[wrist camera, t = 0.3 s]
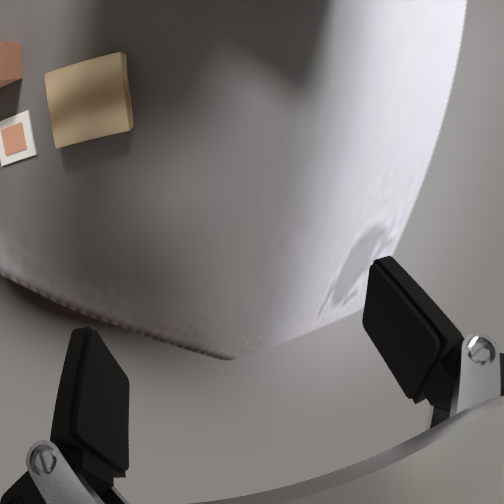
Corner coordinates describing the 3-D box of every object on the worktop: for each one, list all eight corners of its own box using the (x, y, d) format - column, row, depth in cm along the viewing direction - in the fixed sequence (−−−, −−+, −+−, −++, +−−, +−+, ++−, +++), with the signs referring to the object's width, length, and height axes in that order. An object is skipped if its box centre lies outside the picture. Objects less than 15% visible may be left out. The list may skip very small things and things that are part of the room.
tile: (-6, 123, 26) (-8, 124, 26) (29, 109, 27) (27, 110, 27) (3, 165, 30) (1, 166, 29) (37, 153, 30) (35, 155, 30)
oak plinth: (57, 73, 26) (44, 73, 23) (126, 54, 28) (120, 51, 24) (67, 141, 31) (55, 148, 28) (134, 125, 33) (129, 130, 29)
